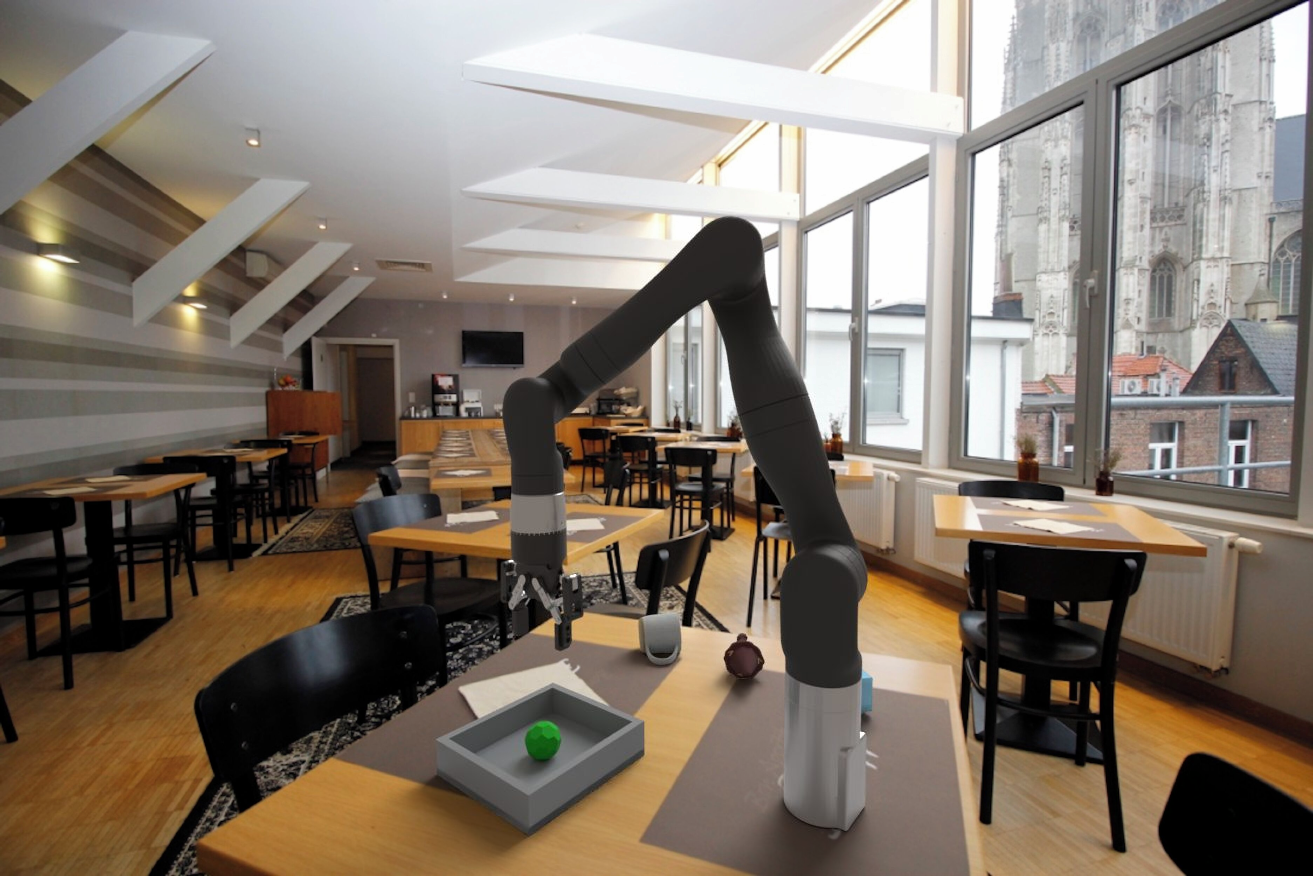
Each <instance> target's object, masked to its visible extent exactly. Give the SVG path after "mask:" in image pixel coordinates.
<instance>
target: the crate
mask: <svg viewBox="0 0 1313 876" xmlns="http://www.w3.org/2000/svg"><path fill="white" fill-rule="evenodd" d="M541 721H549V722H552V723H553V724H554V725H556V726H557V728H558V729H559V732H560V736H561V744H560V747H559V750H558V751H557V753H556V754H555V755H554V756H553V757H551V758H550V759H547V760H535V759H534V758H532V757H531V756H530V755H529V754H528V752H527V748H526V745H525V737H526V734H527V731H528V730H529V729H530V728H531V727H532V726H533V725H534V724H535V723H537V722H541ZM645 751H646V750H645V720H643V719H640V718H638V717H635V716H634V715H631V714H629V713H626V712H624V711H622V710H619V709H617V708H614V707H612V706H610V705H607V704H605V703H602V702H600V701H598V700H595V699H593V698H591V697H588V696H586V695H583V694H582V693H578V692H576V691H573V690H571V689H569V688H568V687H565V686H561V685H559V684H557V683H554V682H551V683H550V684H548V685H546V686H543V687H541V688H539V689H537V690H535V691H533V692H531V693H529V694H527V695H525V696H523V697H521V698H518V699H517V700H514V701H512V702H510V703H508V704H506V705H504V706H502V707H500V708H497V709H496V710H494V711H492V712H490V713H488V714H486V715H483V716H481V717H480V718H476V719H475V720H473V721H471V722H469V723H467V724H465V725H463V726H461V727H458V728H457V729H454V730H452V731H450V732H449V733H446V734H444V735H441V736H440V737H438V738H436V739H435V755H436V756H435V758H436V762H435V763H436V775H437V777H440V778H441V779H443V780H444V781H446V782H447V783H448V784H449V785H452V786H453V787H454V788H456V789H458V791H461V792H462V793H464V794H465V795H466V796H468V797H470V798H471V799H472V800H475V801H476V803H479V804H480V805H482V806H484V807H485V808H486V809H487V810H490V811H491V812H493V813H494V814H495V815H497V816H498V817H500V818H502V819H503V820H504V821H506V822H507V823H509V824H511V825H512V826H514V827H515V828H517V829H518V830H519V831H521V832H523V833H524V834H526V835H527V836H529V837H531V836H532V835H533V834H534V833H536V832H537V831H539V830H541V829H542V828H543V827H544V826H546V825H547V824H549V823H550V822H552V821H553V820H554V819H556V818H557V817H558V816H560V815H562V814H563V813H564V812H566V811H567V810H568V809H570V808H571V807H573V806H574V805H575V804H577V803H579V801H581V800H582V799H584V798H586V797H587V796H589V794H591V793H593V792H594V791H596V790H597V789H598V788H600V787H601V786H602V785H603V784H605V783H607V782H608V781H609V780H610V779H612V778H614V777H615V776H617V775H618V774H619V773H620V772H622V771H624V770H625V769H626V768H628V767H629V766H631V765H632V764H633V763H635V762H636V761H638V760H639V759H640V758H642V757H643V756H645Z"/></svg>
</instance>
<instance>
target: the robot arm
mask: <svg viewBox="0 0 1313 876" xmlns="http://www.w3.org/2000/svg"><path fill="white" fill-rule="evenodd" d="M764 245H765V244H764V240H763V236H762V234H761V232H760V231H759V230H758V228H757V227H756V226H755V225H754V224H753V223H752V222H751V221H750V220H748V219H747V218H744V217H740V216H738V215H737V216H736V215H724V216H720V217H718V218H714V219H713V220H711V221H709V222H707V224H706V225H704V226H703V227H702V228H701V229H700V230H699V231H698V232H697V233H696V234H695V235H694V236H693V237H692V238H691V239H690V240H689V241H688V242H687V243H686V245H684V246H683V247H682V249H681V250H680V251H679V252H678V253H677V254H676V255H675V256H674V257H673V258H672V259H671V260H670V261H669V262H668V263H667V264H666V265H665V266H664V267H663V268H662V269H661V270H660V271H659V272H658V273H657V274H655V276H653V278H651V279H650V280H649V281H648V282H647V283H646V284H645V285H644V286H643V287H642V288H640V289H639V290H638V291H637V292H636V293H635V294H634V295H632V296H631V297H630V298H629V299H628V300H626V301H625V302H624V303H623V304H622V305H621V306H619V307H618V308H617V309H615V310H614V311H612V312H611V313H610V314H609V315H607V316H606V317H605V318H604V319H602V320H600V322H599V323H597V324H595V325H594V326H592V327H591V329H589V330H587V331H586V332H585V333H584V334H582V335H581V336H580V337H578V338H577V339H576V340H575V341H573V342H572V343H571V344H569V345H567V347H566V348H565V349H564V350H562V352H561V354H560V357H559V360H557V361H556V362H554V363H553V364H552V365H550V367H548V368H547V369H545V370H544V371H543V372H542V373H541V374H539V375H537V376H536V377H533V376H530V377H527V376H525V377H521V378H519V379H516V380H515V381H513V382H512V383H511V384H510V385H509V386H508V387H507V389H506V391H505V393H504V395H503V400H502V405H501V406H502V407H501V408H502V409H501V411H502V412H501V413H502V414H501V415H502V424H503V430H504V436H505V440H506V441H505V442H506V447H507V451H508V453H509V458H510V481H511V482H510V484H511V485H510V487H511V494H510V495H511V496H510V498H511V499H510V505H509V523H510V525H509V526H510V530H509V532H510V559H509V560H508V559H507V560H505V561H501V563H500V601H501V603H503V604H504V603H507V604H508V608H509V609H510V610H511V624H512V625H511V626H512V633H513V635H514V636H516V637H521V636H523V635H526V634H528V633H529V630H530V629H529V628H530V627H529V625H530V623H529V621H530V620H529V607H528V606H527V605H528V603H529V602H530V600H531V599H535V600H537V602H541V603H542V605H543V606H544V608H545V610H547V611H549V612H550V614H551V616H552V618H553V620H554V622H555V623H554V626H553V627H554V649H555V650H556V651H559V652H562V651H565V650H566V649H568V648H570V646H571V645H572V642H573V633H572V632H573V629H572V625H573V623H572V622H574V621H575V620H578V619H581V618H583V617H584V614H585V612H584V599H583V585H582V584H583V581H582V575H581V573H580V572H575V573H572V574H569V573H566V572H565V571H564V566H563V564H564V561H565V559H566V558H567V556H568V539H567V538H568V537H567V536H568V535H567V534H568V530H567V527H568V526H567V505H566V504H567V503H566V500H565V480H564V477H565V474H564V470H565V469H564V461H563V457H562V453H561V452H560V451H559V450H558V448H557V437H556V436H557V435H556V425H557V424H559V423H560V422H561V421H563V420H564V419H566V418H567V417H568V416H569V415H570V414H572V413H573V412H574V411H575V410H576V409H577V408H578V407H580V405H582V404H583V403H584V402H585V401H586V400H587V399H588V398H589V397H590V396H591V395H592V394H594V393H596V392H598V391H599V390H600V389H602V388H603V387H604V386H606V385H607V384H609V383H610V382H612V381H613V380H614V379H616V378H617V377H619V376H620V375H621V374H623V373H624V372H625V371H626V370H628V369H629V368H631V366H633V365H635V363H637V361H639V360H640V359H641V358H642V357H644V355H645V354H647V353H648V352H649V350H651V348H652V347H653V346H654V345H655V344H656V343H657V342H658V341H659V339H660V338H661V337H662V336H663V335H664V334H665V333H666V332H667V331H668V330H669V329H670V328H671V327H672V326H673V325H674V324H676V323H677V322H678V321H679V320H680V319H681V318H683V317H684V316H685V315H686V314H688V313H689V312H690V311H692V310H694V309H695V308H697V307H698V306H699V305H701V304H702V303H705V302H708V306H709V307H710V310H711V312H712V315H713V317H714V320H715V322H716V325H717V327H718V329H719V331H720V334H721V338H722V340H723V344H724V348H725V353H726V358H727V359H726V360H727V365H728V366H727V367H728V374H729V380H730V387H731V392H732V395H733V401H734V405H735V409H736V412H737V416H738V420H739V424H740V426H741V430H742V432H743V437H744V439H745V443H746V445H747V448H748V451H749V453H750V455H751V457H752V459H753V461H754V463H755V465H756V467H757V469H758V470H759V471H760V473H761V475H762V476H763V478H764V480H765V481H766V483H767V484H768V486H769V488H770V489H771V490H772V492H773V493H774V495H775V496H776V498H777V500H778V502H779V504H780V507H781V508H782V511H783V513H784V516H785V519H786V522H787V526H788V528H789V529H788V530H789V532H790V539H791V540H792V546H793V551H794V555H793V556H792V557H791V558H790V559H789V560H788V562H787V563H786V565H785V566H784V567H783V571H782V574H781V577H780V586H779V620H780V621H779V622H780V623H779V627H780V645H781V650H782V652H783V655H784V662H785V663H784V665H785V666H784V669H785V670H784V721H783V722H784V726H783V727H784V732H783V737H784V738H783V739H784V741H783V743H784V744H783V745H784V747H783V784H782V785H783V802H784V805H785V807H786V808H787V810H788V812H790V813H791V814H792V815H793V816H794V817H796V818H797V819H798V820H801V821H802V822H804V823H807V824H809V825H813V826H816V827H821V828H835V829H836V828H837V829H840V830H842V831H845V832H847V831H849V829H850V828H851V827H852V825H853V823H854V822H855V820H856V819H857V817H858V816H859V815H860V814H861V812H862V811H863V809H864V808H865V806H866V778H867V777H866V776H867V775H866V771H867V770H866V769H867V734H866V733H865V732H863V731H861V730H862V729H861V728H862V725H861V724H862V714H861V692H862V669H863V657H862V653H861V652H860V650H859V647H858V646H859V643H858V642H859V640H858V639H859V638H858V637H859V635H858V633H859V622H858V621H859V603H860V602H861V600H862V599H863V597H864V595H865V593H866V592H867V591H866V590H867V588H868V583H869V578H868V568H867V564H866V562H865V559H864V556H863V554H862V552H861V549H860V547H859V545H858V542H857V541H856V538H855V535H854V534H853V532H852V529H851V526H850V524H849V522H848V519H847V517H846V515H845V512H844V511H843V508H842V506H841V503H840V500H839V497H838V494H837V491H836V487H835V483H834V480H833V475H832V470H831V467H830V463H829V459H828V455H827V453H826V449H825V445H824V443H823V439H822V436H821V431H820V427H819V423H818V420H817V417H816V414H815V411H814V407H813V405H812V401H811V398H810V396H809V391H808V390H807V389H808V388H807V386H806V384H805V382H804V379H803V376H802V374H801V372H800V369H799V367H798V365H797V364H796V360H795V359H794V357H793V355H792V353H791V352H790V349H789V348H788V346H787V344H786V343H785V342H786V341H784V339H783V336H782V334H781V332H780V330H779V327H778V324H777V322H776V317H775V315H774V309H773V306H772V302H771V301H772V300H771V297H770V293H769V288H768V281H767V275H766V261H765V260H766V257H765V256H766V254H765V253H766V252H765V246H764ZM510 586H511V591H510V592H509V588H510ZM556 596H558V598H556V599H554V598H555V597H556ZM573 606H574V609H573ZM559 607H560V608H561V610H562V612H561V611H560V608H559Z"/></svg>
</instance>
